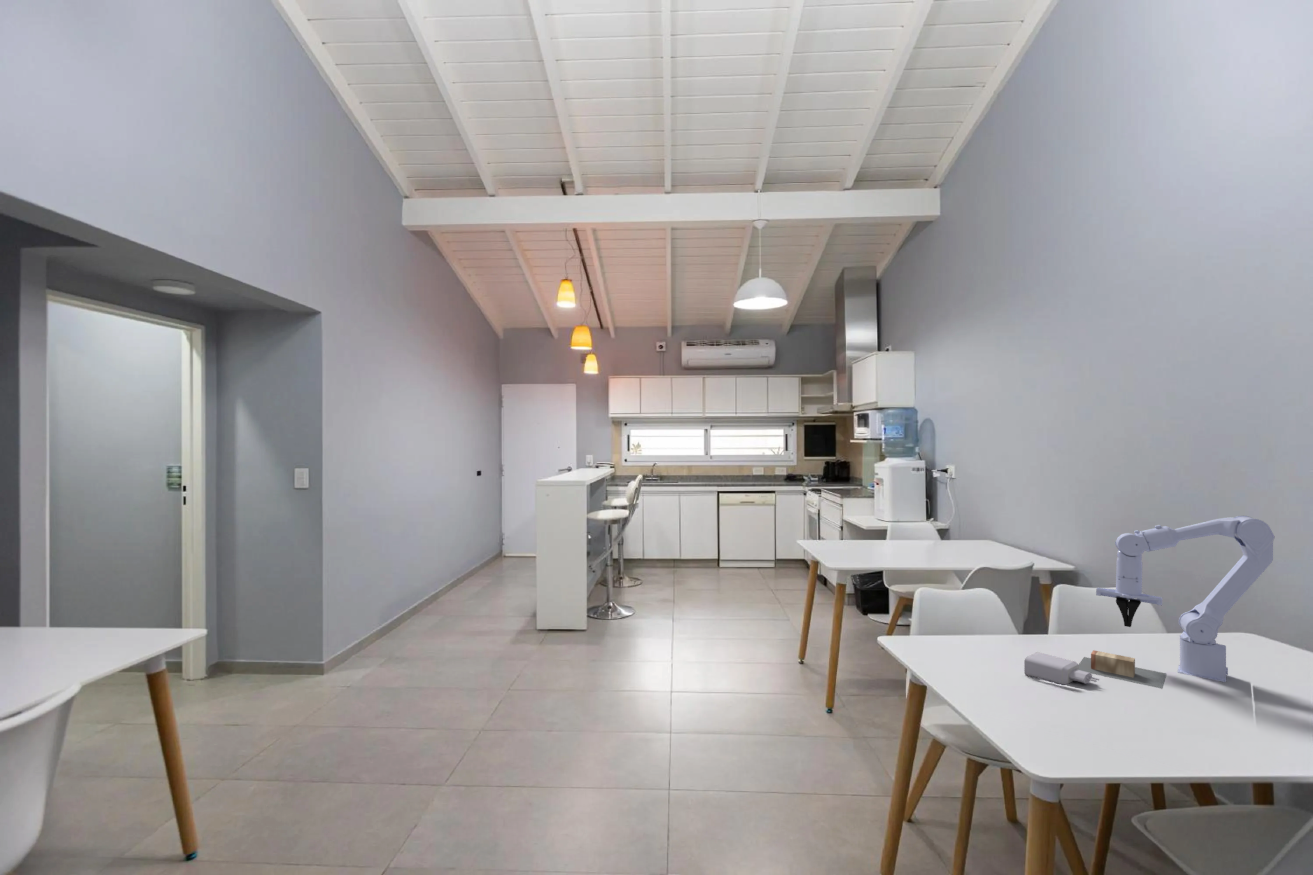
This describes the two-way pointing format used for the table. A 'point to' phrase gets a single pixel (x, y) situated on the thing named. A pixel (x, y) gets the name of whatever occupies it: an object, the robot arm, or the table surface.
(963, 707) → the table surface
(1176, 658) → the table surface
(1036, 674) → the charger
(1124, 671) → the maple block
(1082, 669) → the rubber mat
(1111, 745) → the table surface
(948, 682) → the table surface
